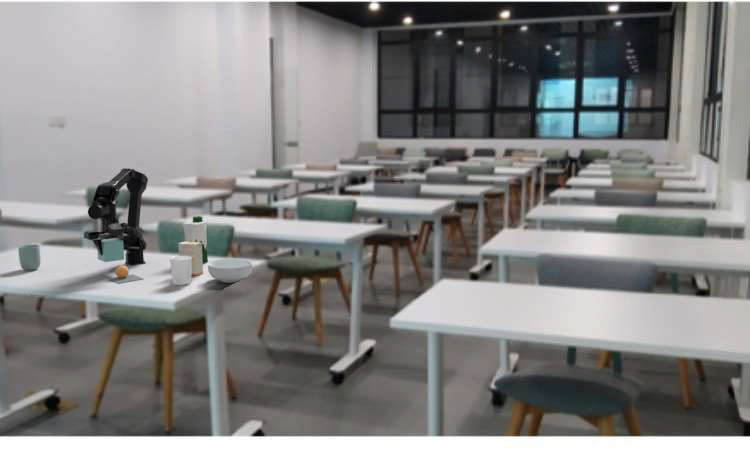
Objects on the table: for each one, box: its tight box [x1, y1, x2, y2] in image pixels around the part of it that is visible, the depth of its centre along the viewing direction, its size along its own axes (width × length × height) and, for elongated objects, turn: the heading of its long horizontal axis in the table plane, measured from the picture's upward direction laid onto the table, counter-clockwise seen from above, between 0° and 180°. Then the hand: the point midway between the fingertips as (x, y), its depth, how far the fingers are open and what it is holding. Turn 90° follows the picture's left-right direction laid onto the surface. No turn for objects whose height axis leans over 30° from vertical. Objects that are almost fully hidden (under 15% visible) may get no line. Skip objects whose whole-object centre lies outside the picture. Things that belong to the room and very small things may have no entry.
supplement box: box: [178, 240, 204, 277], centre depth 266 cm, size 8×5×13 cm, turn 71°
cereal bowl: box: [207, 258, 253, 284], centre depth 256 cm, size 17×17×7 cm
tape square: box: [107, 273, 144, 284], centre depth 258 cm, size 10×10×1 cm
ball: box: [115, 265, 130, 278], centre depth 260 cm, size 5×5×5 cm
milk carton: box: [181, 215, 209, 264], centre depth 286 cm, size 9×9×20 cm
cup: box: [17, 244, 42, 272], centre depth 273 cm, size 8×8×10 cm
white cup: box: [169, 255, 192, 286], centre depth 251 cm, size 8×8×10 cm
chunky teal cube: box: [96, 237, 125, 263], centre depth 266 cm, size 8×8×8 cm
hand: (111, 253), depth 266 cm, fingers closed on chunky teal cube, 8 cm apart
